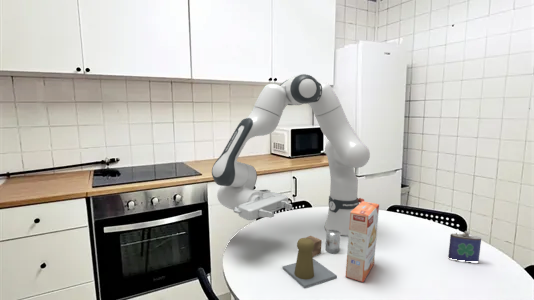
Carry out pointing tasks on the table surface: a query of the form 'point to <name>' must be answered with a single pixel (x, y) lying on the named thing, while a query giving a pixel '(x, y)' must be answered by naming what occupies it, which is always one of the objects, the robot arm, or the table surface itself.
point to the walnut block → (316, 245)
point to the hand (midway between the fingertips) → (282, 211)
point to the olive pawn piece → (304, 259)
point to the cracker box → (362, 240)
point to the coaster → (319, 274)
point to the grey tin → (332, 241)
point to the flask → (464, 247)
